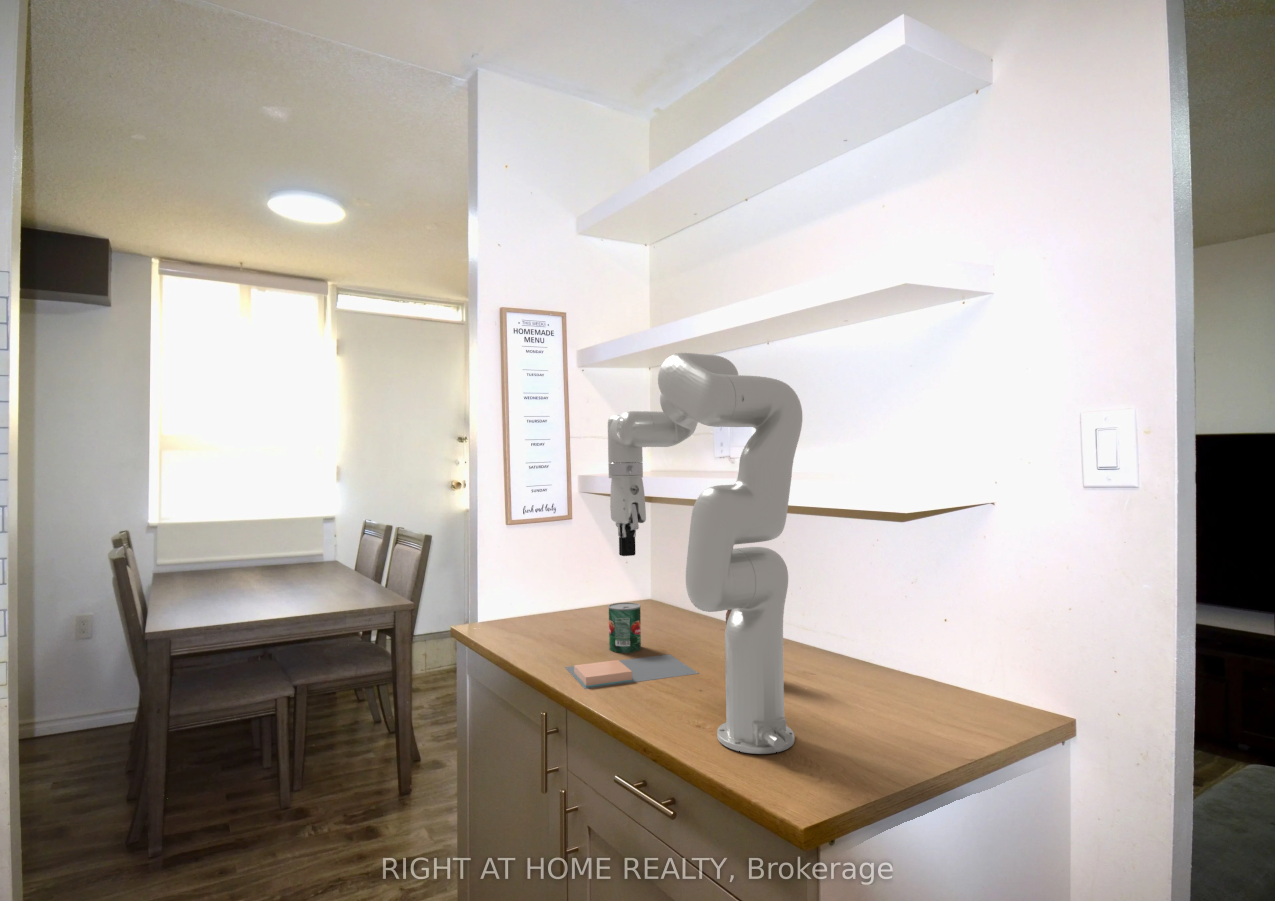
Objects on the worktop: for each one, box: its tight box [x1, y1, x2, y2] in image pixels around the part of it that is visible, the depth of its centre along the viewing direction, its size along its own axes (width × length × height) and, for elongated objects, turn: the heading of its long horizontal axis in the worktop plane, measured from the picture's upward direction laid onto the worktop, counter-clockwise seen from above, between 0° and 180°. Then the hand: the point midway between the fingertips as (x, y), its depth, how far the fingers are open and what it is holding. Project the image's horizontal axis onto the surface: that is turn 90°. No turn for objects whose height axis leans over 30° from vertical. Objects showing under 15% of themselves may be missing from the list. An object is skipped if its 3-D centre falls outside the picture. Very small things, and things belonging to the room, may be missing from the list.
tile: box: [573, 659, 632, 687], centre depth 145 cm, size 2×10×9 cm
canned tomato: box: [607, 602, 642, 654], centre depth 168 cm, size 8×8×11 cm
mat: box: [564, 653, 700, 690], centre depth 150 cm, size 16×26×1 cm, turn 111°
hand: (627, 555), depth 150 cm, fingers closed
